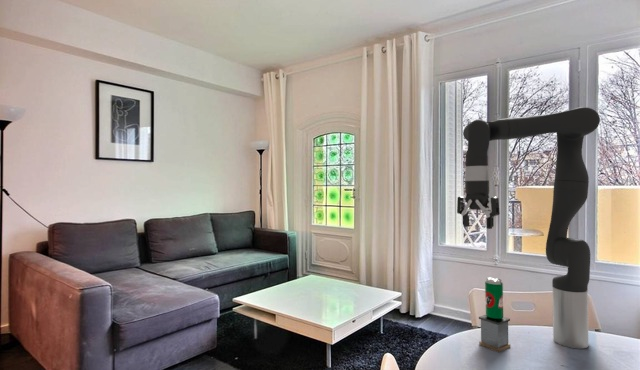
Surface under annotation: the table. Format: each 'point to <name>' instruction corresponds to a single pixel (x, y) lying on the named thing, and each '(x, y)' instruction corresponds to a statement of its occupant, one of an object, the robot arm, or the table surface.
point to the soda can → (494, 298)
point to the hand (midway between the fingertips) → (477, 227)
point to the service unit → (494, 333)
